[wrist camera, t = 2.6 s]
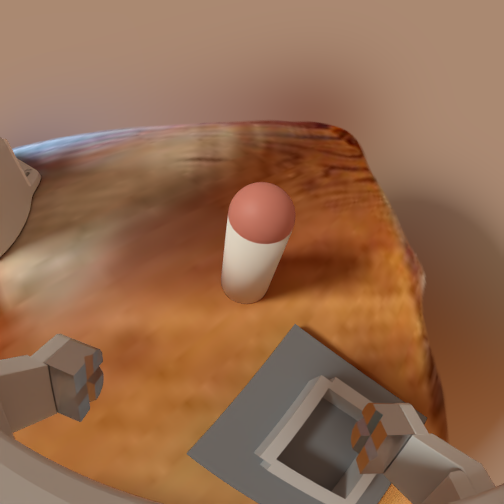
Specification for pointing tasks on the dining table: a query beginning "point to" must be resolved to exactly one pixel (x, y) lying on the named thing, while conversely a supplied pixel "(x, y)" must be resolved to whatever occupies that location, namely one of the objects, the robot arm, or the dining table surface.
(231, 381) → the dining table surface
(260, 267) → the pink-topped post
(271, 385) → the jig
